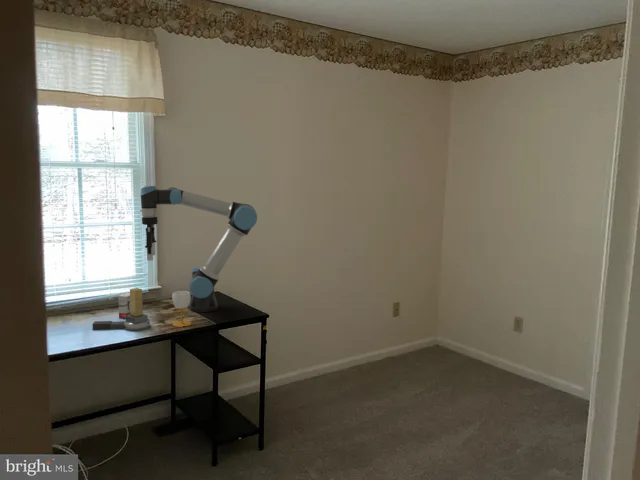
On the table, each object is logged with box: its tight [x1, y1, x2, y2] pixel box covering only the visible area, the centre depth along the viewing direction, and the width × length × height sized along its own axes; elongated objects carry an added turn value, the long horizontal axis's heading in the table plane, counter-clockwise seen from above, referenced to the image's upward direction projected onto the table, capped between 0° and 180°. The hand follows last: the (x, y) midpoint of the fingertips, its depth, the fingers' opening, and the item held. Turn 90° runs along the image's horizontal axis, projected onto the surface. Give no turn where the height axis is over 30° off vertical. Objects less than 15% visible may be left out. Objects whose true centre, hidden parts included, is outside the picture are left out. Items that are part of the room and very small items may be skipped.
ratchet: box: [91, 313, 151, 332], centre depth 260 cm, size 26×12×6 cm, turn 99°
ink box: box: [117, 291, 131, 319], centre depth 278 cm, size 9×5×12 cm, turn 168°
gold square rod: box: [129, 287, 144, 318], centre depth 260 cm, size 4×4×16 cm
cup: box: [171, 290, 192, 328], centre depth 266 cm, size 9×9×16 cm
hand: (151, 257), depth 274 cm, fingers open, 13 cm apart
